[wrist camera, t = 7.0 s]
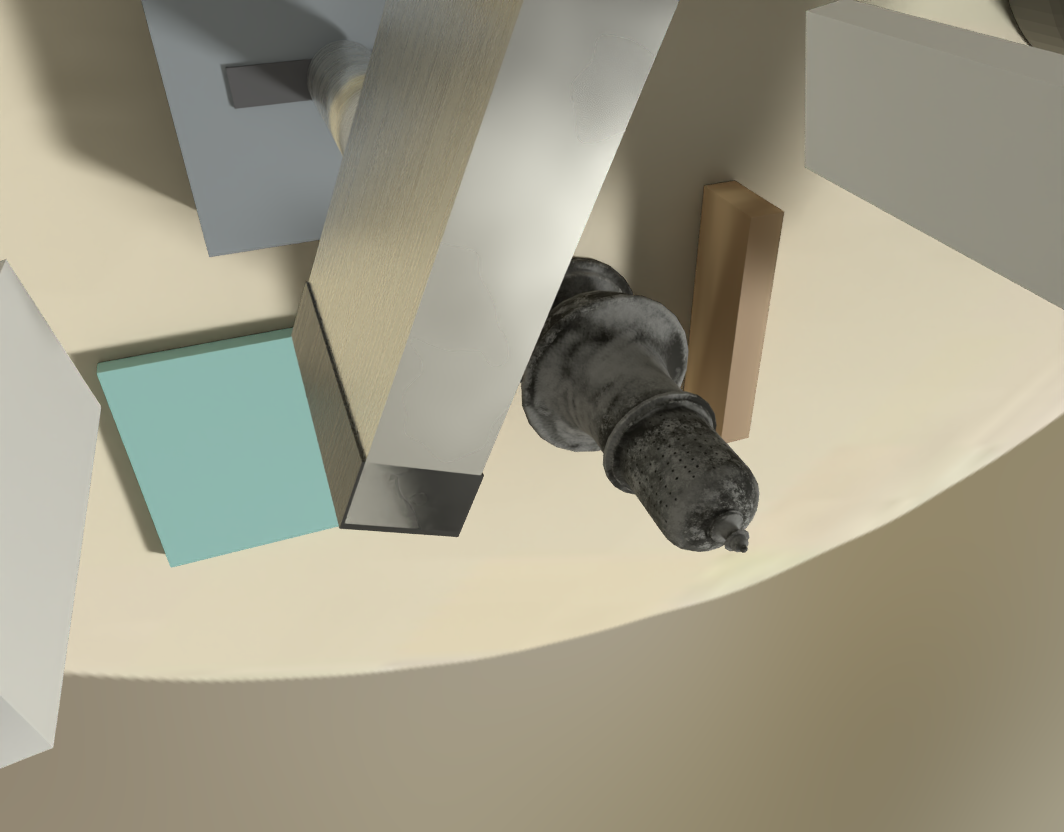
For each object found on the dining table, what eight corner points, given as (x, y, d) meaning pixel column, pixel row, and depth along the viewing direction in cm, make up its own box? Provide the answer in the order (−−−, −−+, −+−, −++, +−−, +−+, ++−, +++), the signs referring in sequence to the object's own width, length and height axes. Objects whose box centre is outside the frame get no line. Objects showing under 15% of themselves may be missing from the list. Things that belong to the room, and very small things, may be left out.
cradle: (734, 180, 29) (783, 211, 27) (709, 396, 34) (748, 437, 32) (380, 237, 26) (401, 278, 24) (411, 465, 31) (430, 517, 29)
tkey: (353, -125, 18) (542, -68, 9) (437, -87, 19) (684, -2, 10) (265, 233, 21) (339, 527, 12) (340, 250, 22) (458, 536, 13)
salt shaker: (454, 336, 29) (592, 580, 20) (582, 215, 28) (788, 411, 19) (554, 423, 33) (710, 663, 23) (670, 319, 32) (879, 525, 22)
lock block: (457, -136, 21) (494, -130, 19) (476, 175, 26) (508, 211, 24) (117, -121, 19) (111, -113, 17) (204, 214, 24) (209, 259, 21)
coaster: (365, 313, 27) (368, 322, 27) (394, 501, 32) (397, 511, 31) (97, 363, 25) (96, 373, 25) (170, 556, 30) (170, 567, 29)
